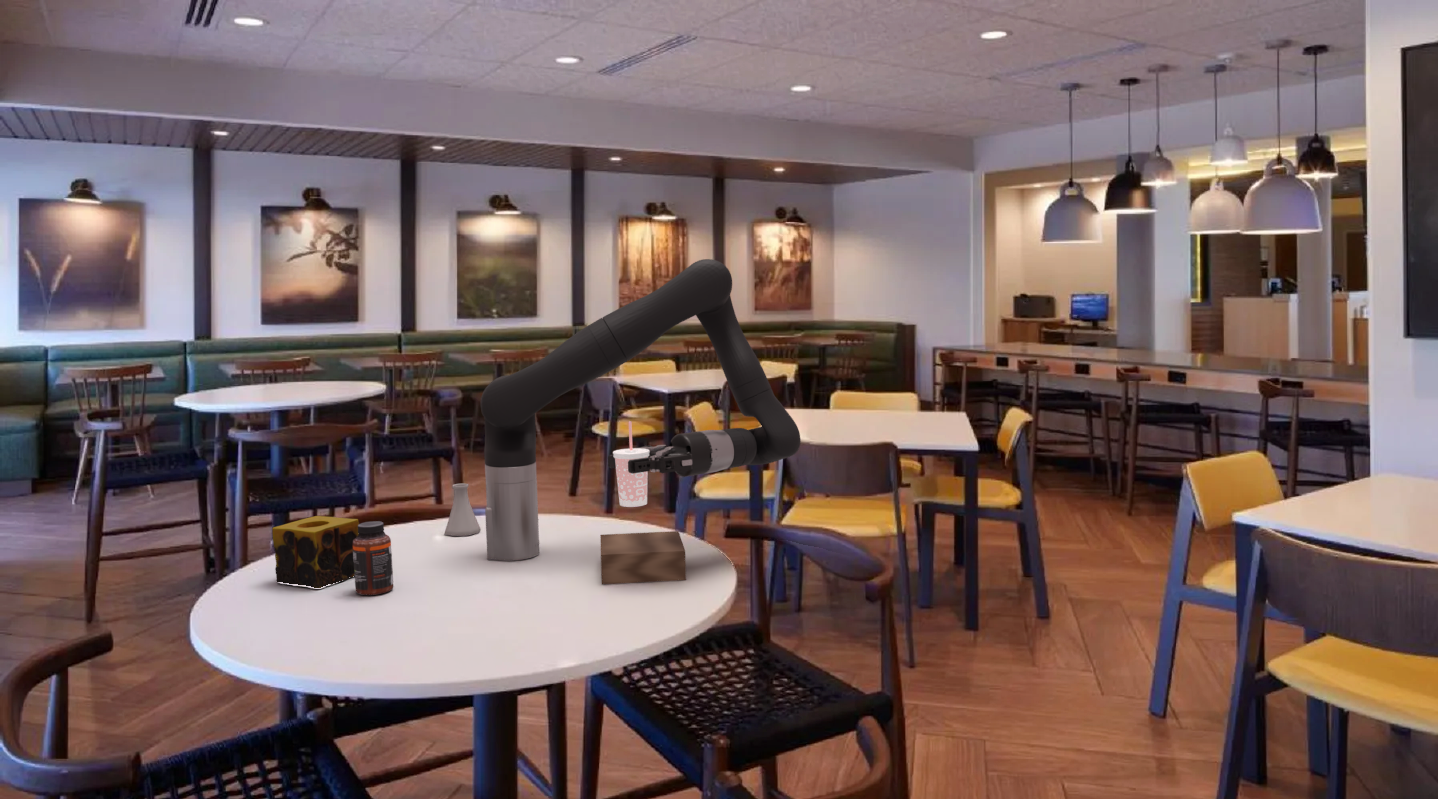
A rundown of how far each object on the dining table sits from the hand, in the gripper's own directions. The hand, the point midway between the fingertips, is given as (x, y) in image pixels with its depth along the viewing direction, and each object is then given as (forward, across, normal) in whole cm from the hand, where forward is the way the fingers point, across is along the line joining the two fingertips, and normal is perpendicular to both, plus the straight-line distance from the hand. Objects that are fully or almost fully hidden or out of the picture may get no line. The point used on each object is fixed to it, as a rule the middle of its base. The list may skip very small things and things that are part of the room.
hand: (619, 464), depth 164 cm
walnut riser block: (-5, -3, +20) cm, 21 cm away
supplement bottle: (+35, -21, +20) cm, 45 cm away
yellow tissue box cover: (+40, -34, +20) cm, 56 cm away
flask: (+8, -50, +20) cm, 55 cm away
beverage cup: (-2, 0, +7) cm, 8 cm away
